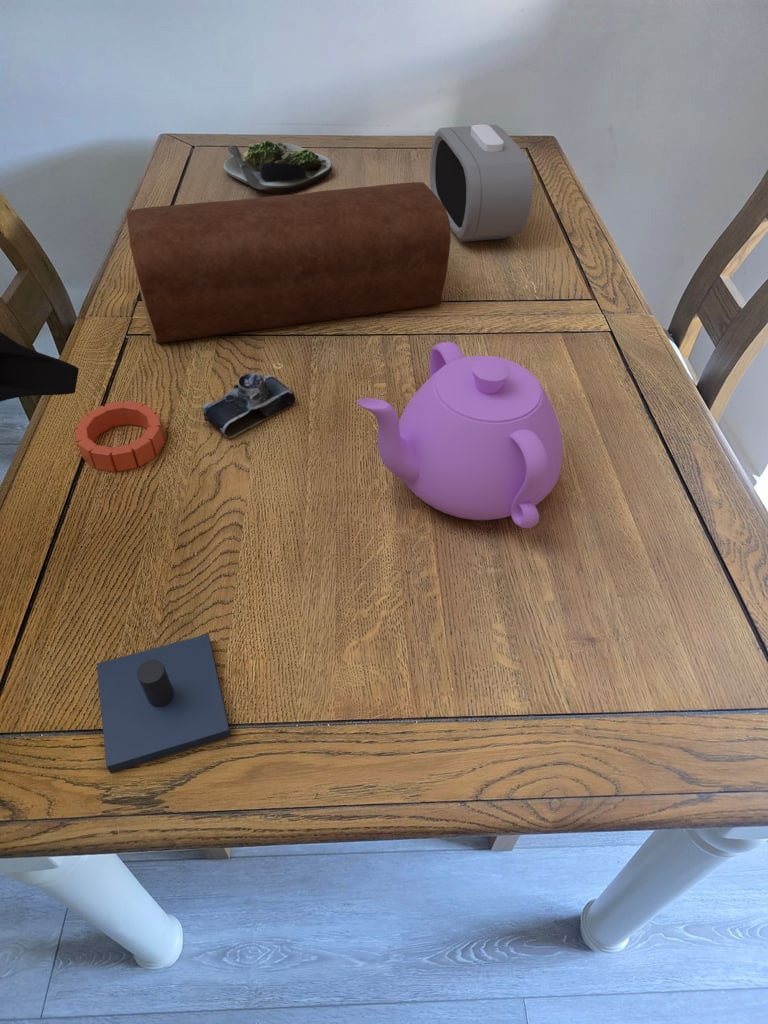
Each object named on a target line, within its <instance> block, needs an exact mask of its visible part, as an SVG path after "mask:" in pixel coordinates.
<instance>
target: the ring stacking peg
mask: <svg viewBox="0 0 768 1024" xmlns="http://www.w3.org/2000/svg"><path fill="white" fill-rule="evenodd" d="M212 646H213V645H212V642H211V638H210V635H209V633H206V634H202V635H199V636H195V637H191V638H188V639H183V640H180V641H176V642H173V643H169V644H165V645H161V646H158V647H154V648H149V649H146V650H142V651H138V652H135V653H131V654H128V655H123V656H119V657H117V658H112V659H109V660H105V661H101V662H97V663H96V669H97V680H98V692H99V702H100V703H99V704H100V713H101V723H102V735H103V745H104V746H103V747H104V756H105V767H106V769H107V770H108V772H109V774H112V773H116V772H119V771H123V770H126V769H129V768H132V767H136V766H138V765H139V766H140V765H142V764H146V763H149V762H152V761H155V760H158V759H162V758H166V757H169V756H171V755H175V754H178V753H181V752H184V751H187V750H188V751H189V750H191V749H195V748H198V747H201V746H204V745H209V744H211V743H214V742H217V741H221V740H224V739H227V738H230V737H232V734H231V730H230V725H229V721H228V715H227V710H226V707H225V706H226V705H225V701H224V697H223V693H222V688H221V683H220V678H219V674H218V669H217V664H216V659H215V655H214V651H213V647H212Z"/></svg>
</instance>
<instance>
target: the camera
mask: <svg viewBox="0 0 768 1024" xmlns="http://www.w3.org/2000/svg"><path fill="white" fill-rule="evenodd" d="M296 399H297V398H296V396H295V392H294V390H292V389H291V388H289V387H288V386H287V385H285V384H284V383H282V382H281V381H280V380H279V379H277V378H276V377H275V376H274V375H271V374H269V375H266V376H264V375H262V374H260V373H257V372H249V373H245V374H243V375H241V376H240V377H238V381H237V384H235V385H233V386H232V387H231V388H230V391H228V392H227V393H226V394H224V395H223V397H221V398H219V399H217V400H215V401H213V402H206V403H204V404H203V405H202V408H201V410H202V413H203V414H202V415H203V418H204V419H203V420H204V421H205V422H208V423H210V424H211V425H212V426H213V427H214V428H215V429H216V430H217V431H219V432H220V433H221V434H222V435H223V436H224V437H225V438H227V439H234V438H236V437H238V436H239V435H242V434H244V433H245V432H248V431H249V430H251V429H252V428H255V427H256V426H258V425H259V424H261V423H263V422H264V421H266V420H268V419H271V418H272V417H274V416H275V415H278V414H279V413H282V412H283V411H285V410H287V409H289V408H290V407H292V406H293V405H294V403H295V401H296Z"/></svg>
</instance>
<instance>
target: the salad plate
mask: <svg viewBox="0 0 768 1024" xmlns="http://www.w3.org/2000/svg"><path fill="white" fill-rule="evenodd" d="M247 145H248V149H247V151H244V152H243V151H241V150H240V149H239V147H238V145H235V144H234V145H229V146H228V148H227V151H228V153H229V154H230V157H228V158H227V159H226V160H225V161H224V163H223V169H224V171H225V172H226V173H227V174H228V175H230V176H231V177H232V178H234V179H236V180H238V181H240V182H242V183H244V184H245V185H248V186H249V187H251V188H252V189H254V190H255V191H258V192H261V193H263V194H267V195H273V196H280V195H292V194H296V193H298V192H300V191H304V190H307V189H310V188H313V187H315V186H317V185H318V184H320V183H322V182H324V181H325V179H326V178H327V177H328V175H330V174H331V172H332V169H333V166H332V161H331V159H330V158H329V157H327V156H326V155H323V154H319V153H316V152H313V151H311V150H308V149H306V148H304V147H301V146H299V145H296V144H293V143H290V142H272V141H269V140H263V142H261V143H259V142H258V143H256V144H252V142H248V143H247Z"/></svg>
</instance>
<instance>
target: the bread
mask: <svg viewBox="0 0 768 1024" xmlns="http://www.w3.org/2000/svg"><path fill="white" fill-rule="evenodd" d="M125 215H126V220H127V229H128V236H129V237H128V238H129V246H130V251H131V256H132V263H133V268H134V273H135V277H136V280H137V284H138V288H139V294H140V297H141V301H142V305H143V310H144V313H145V318H146V321H147V325H148V326H147V327H148V329H149V334H150V337H151V339H152V340H153V341H155V342H156V343H157V344H162V343H170V342H179V341H186V340H193V339H201V338H208V337H214V336H221V335H228V334H235V333H237V334H238V333H244V332H252V331H258V330H259V331H260V330H267V329H274V328H281V327H282V328H283V327H288V326H294V325H301V324H308V323H316V322H318V323H319V322H326V321H332V320H339V319H346V318H353V317H360V316H366V315H374V314H380V313H388V312H396V311H402V310H410V309H416V308H423V307H430V306H435V305H440V304H442V303H443V296H444V295H443V294H444V291H445V284H446V277H447V272H448V265H449V257H450V250H451V242H452V240H451V239H452V237H451V228H450V222H449V218H448V215H447V211H446V208H445V207H444V205H443V204H442V203H441V201H440V200H439V199H438V198H437V196H436V195H435V194H434V193H433V192H432V190H431V188H430V187H429V186H428V185H427V184H425V182H423V181H416V182H415V181H414V182H413V181H412V182H401V183H389V184H380V185H371V186H370V185H369V186H360V187H352V188H351V187H350V188H341V189H328V190H327V189H326V190H318V191H312V192H305V193H297V194H296V193H293V194H283V195H273V196H263V197H262V196H261V197H253V198H244V199H243V198H242V199H233V200H219V201H206V202H196V203H195V202H194V203H183V204H182V203H181V204H172V205H170V204H169V205H159V206H148V207H142V208H135V209H129V210H127V211H126V212H125Z"/></svg>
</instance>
